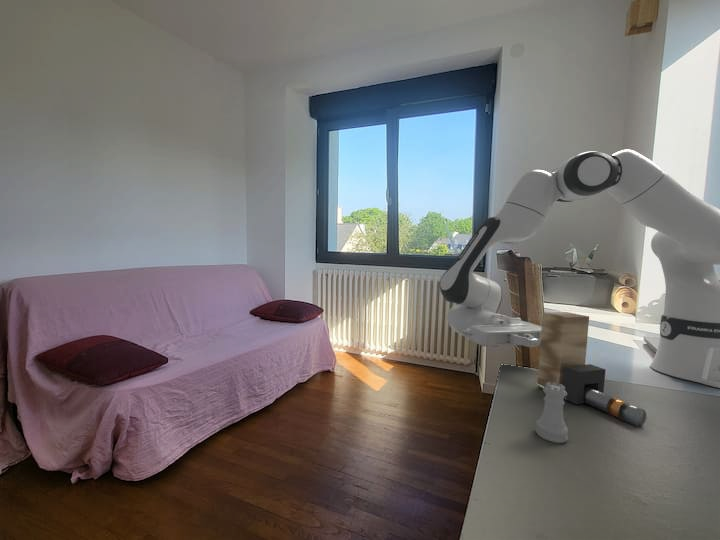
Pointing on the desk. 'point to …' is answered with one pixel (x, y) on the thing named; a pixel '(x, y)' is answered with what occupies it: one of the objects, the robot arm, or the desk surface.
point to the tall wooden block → (561, 345)
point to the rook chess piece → (553, 415)
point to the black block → (582, 381)
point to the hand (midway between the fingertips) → (534, 343)
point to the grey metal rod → (615, 406)
